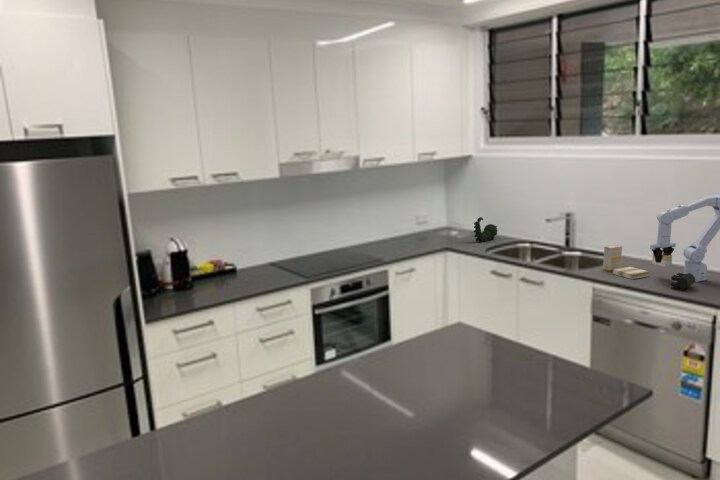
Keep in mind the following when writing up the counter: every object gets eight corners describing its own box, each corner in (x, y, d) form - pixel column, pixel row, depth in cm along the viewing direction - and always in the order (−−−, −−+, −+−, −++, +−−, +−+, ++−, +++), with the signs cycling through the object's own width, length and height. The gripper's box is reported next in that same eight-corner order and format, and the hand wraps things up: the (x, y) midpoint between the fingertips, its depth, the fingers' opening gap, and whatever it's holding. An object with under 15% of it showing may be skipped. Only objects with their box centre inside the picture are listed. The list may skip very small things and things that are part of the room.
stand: (649, 276, 276) (649, 271, 275) (632, 279, 271) (632, 274, 270) (629, 271, 286) (629, 266, 286) (612, 273, 282) (613, 269, 281)
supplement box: (613, 267, 294) (615, 244, 292) (621, 269, 290) (622, 246, 287) (602, 269, 292) (603, 245, 289) (609, 271, 287) (610, 247, 285)
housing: (671, 265, 268) (672, 255, 266) (664, 266, 266) (665, 255, 265) (659, 262, 275) (659, 252, 274) (651, 263, 273) (652, 252, 272)
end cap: (686, 292, 248) (687, 277, 247) (670, 289, 253) (671, 275, 252) (694, 287, 254) (696, 274, 253) (678, 284, 260) (679, 271, 258)
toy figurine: (482, 246, 366) (502, 237, 382) (481, 219, 361) (501, 212, 377) (470, 244, 373) (491, 236, 389) (469, 218, 368) (490, 210, 384)
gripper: (668, 233, 273) (666, 258, 276) (646, 235, 269) (644, 261, 272) (680, 235, 267) (678, 261, 269) (657, 237, 262) (655, 264, 265)
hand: (661, 261), depth 270 cm, fingers closed on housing, 5 cm apart
